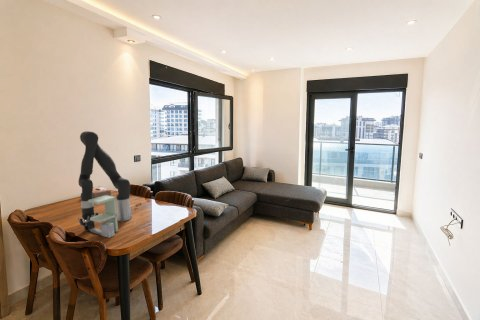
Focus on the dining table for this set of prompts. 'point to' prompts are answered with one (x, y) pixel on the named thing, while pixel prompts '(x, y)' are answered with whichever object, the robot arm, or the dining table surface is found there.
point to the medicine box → (107, 229)
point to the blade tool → (92, 227)
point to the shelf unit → (106, 210)
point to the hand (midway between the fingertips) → (89, 229)
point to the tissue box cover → (100, 191)
